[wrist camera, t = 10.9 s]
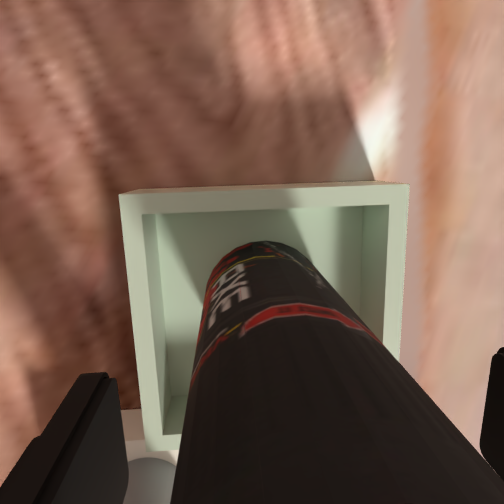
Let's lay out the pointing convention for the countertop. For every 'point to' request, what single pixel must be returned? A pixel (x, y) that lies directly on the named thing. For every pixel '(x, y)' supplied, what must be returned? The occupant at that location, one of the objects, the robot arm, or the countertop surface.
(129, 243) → the tray
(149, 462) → the fuse block
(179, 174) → the countertop surface
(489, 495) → the deodorant
